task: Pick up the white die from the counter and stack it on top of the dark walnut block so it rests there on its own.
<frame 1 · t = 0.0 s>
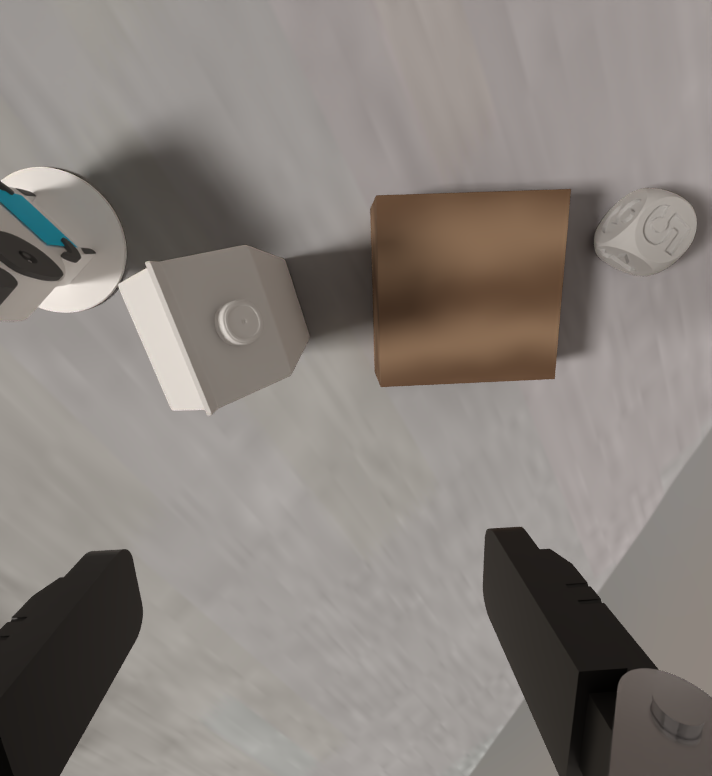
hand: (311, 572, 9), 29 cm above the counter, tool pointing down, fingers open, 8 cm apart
milk carton: (260, 310, 37), on the counter
die: (620, 237, 36), on the counter
walnut block: (450, 290, 37), on the counter
white device on stand: (61, 246, 35), on the counter
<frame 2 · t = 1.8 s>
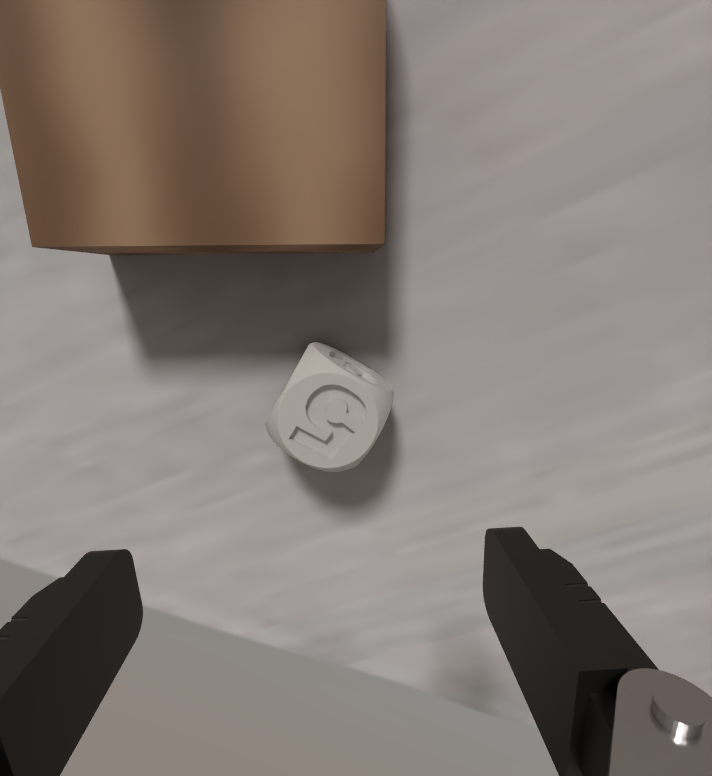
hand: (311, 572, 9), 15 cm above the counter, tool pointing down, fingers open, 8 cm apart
die: (330, 392, 25), on the counter
walnut block: (232, 106, 21), on the counter
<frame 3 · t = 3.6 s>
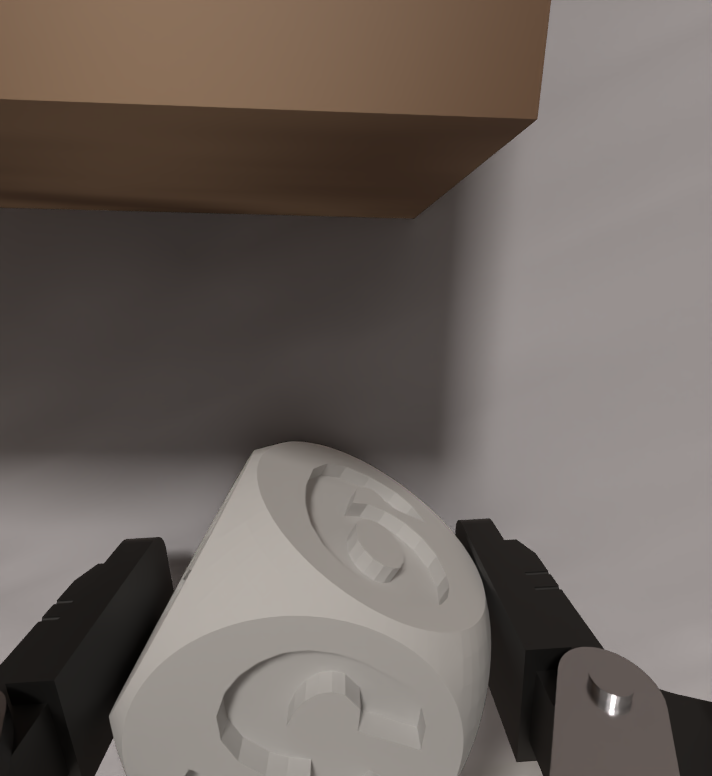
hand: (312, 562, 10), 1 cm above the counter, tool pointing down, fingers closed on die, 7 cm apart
die: (316, 534, 11), on the counter, touching gripper
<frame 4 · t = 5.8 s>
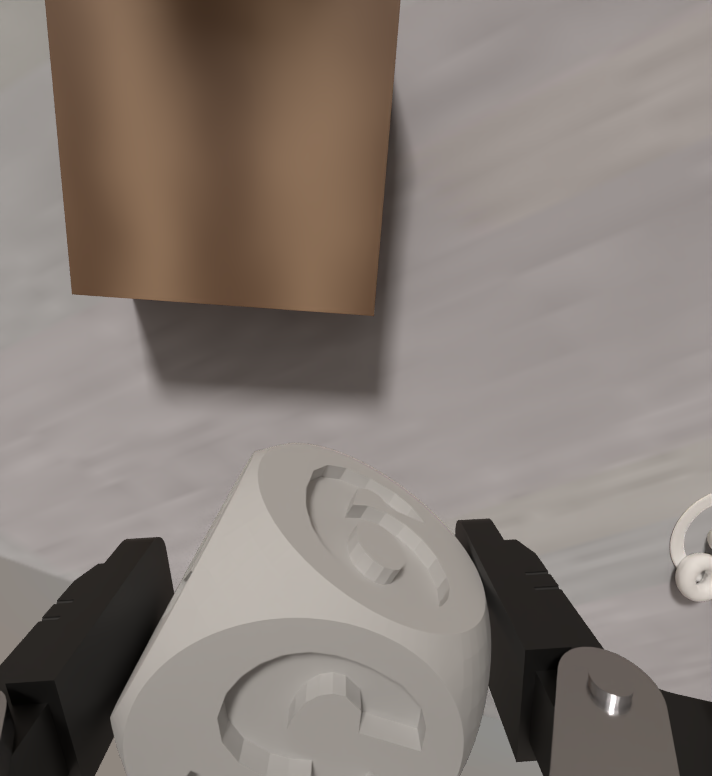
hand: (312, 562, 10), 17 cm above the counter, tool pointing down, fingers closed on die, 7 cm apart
teacup and saucer: (675, 530, 31), on the counter
die: (316, 535, 11), point 16 cm above the counter, touching gripper
walnut block: (252, 174, 24), on the counter
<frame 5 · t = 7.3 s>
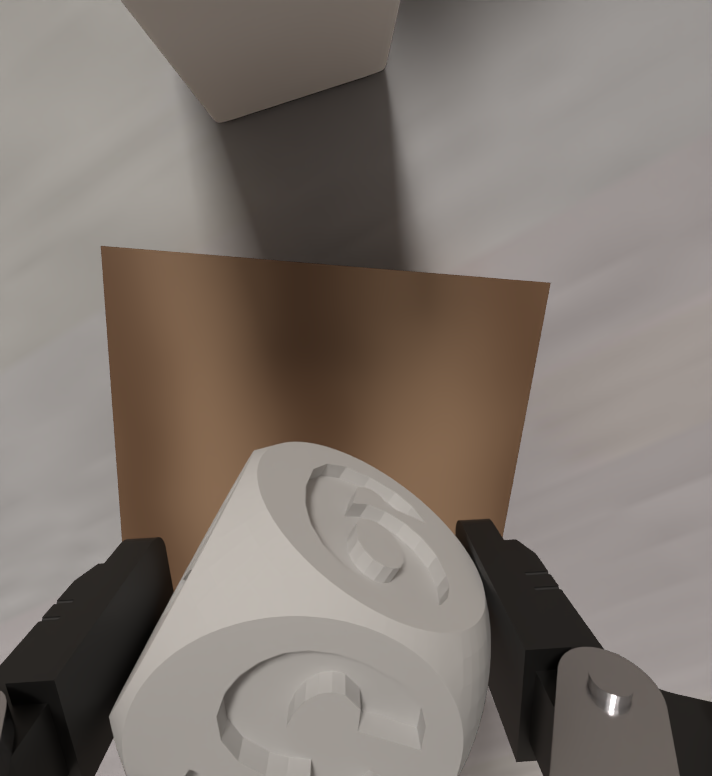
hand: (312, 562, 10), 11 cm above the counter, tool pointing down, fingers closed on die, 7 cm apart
milk carton: (272, 0, 16), on the counter
die: (316, 534, 11), point 10 cm above the counter, touching gripper
walnut block: (325, 416, 20), on the counter
when the fingers open (8 cm above the counter, at t = 8.4 s): die drops 2 cm, point 5 cm above the counter.
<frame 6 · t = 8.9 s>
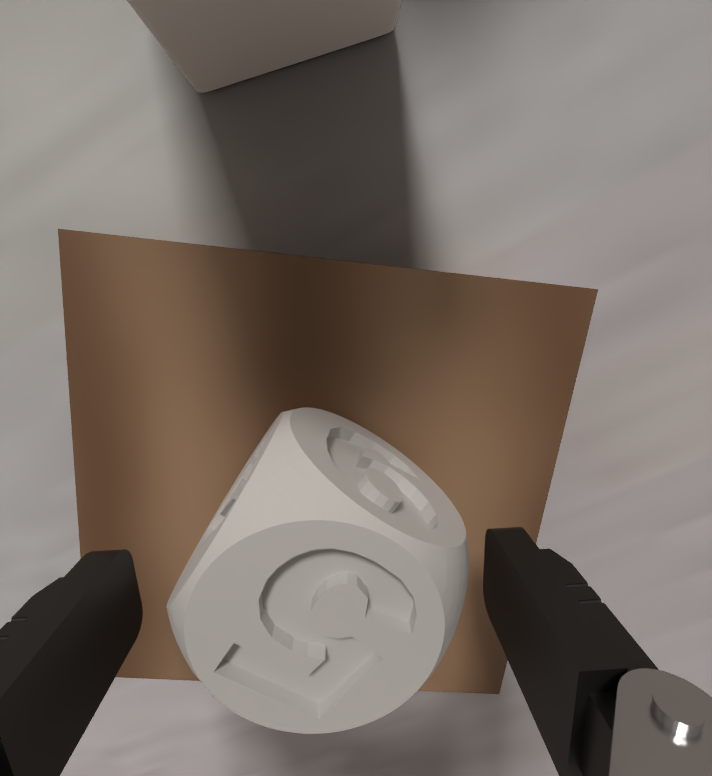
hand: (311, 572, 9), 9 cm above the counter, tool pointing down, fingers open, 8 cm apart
die: (324, 493, 13), point 5 cm above the counter
walnut block: (324, 431, 18), on the counter
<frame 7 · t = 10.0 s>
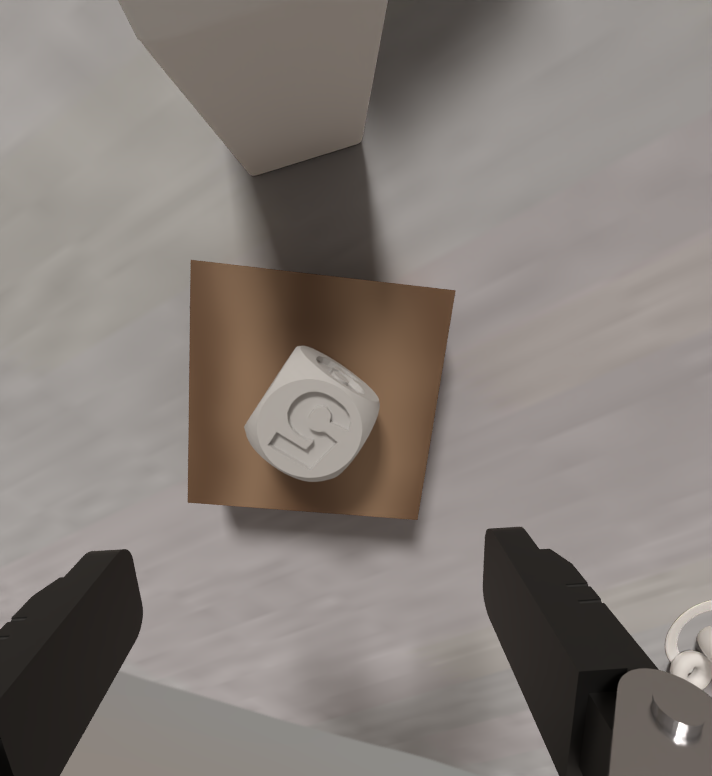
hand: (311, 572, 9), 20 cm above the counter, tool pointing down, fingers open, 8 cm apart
teacup and saucer: (669, 630, 37), on the counter
milk carton: (288, 98, 25), on the counter
die: (315, 398, 24), point 5 cm above the counter
walnut block: (319, 377, 29), on the counter
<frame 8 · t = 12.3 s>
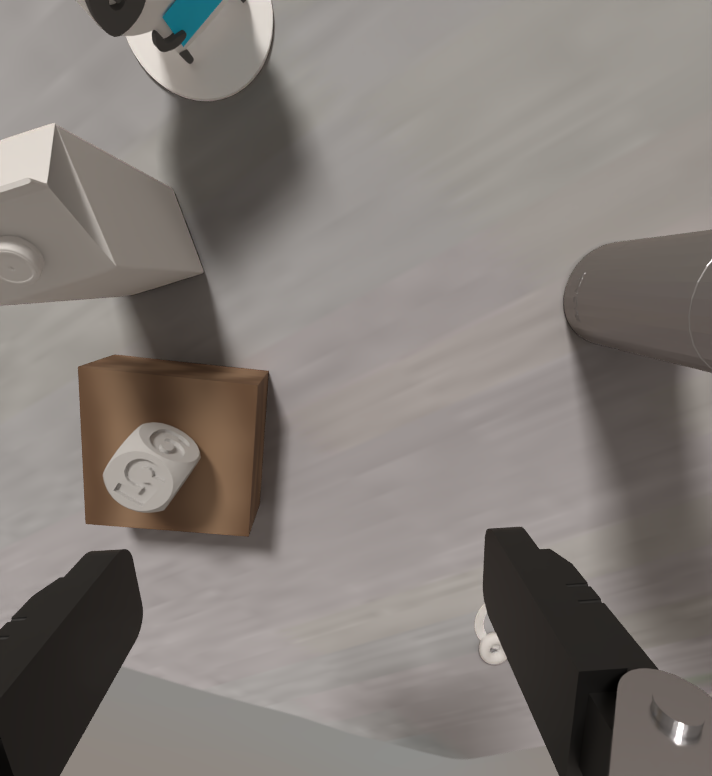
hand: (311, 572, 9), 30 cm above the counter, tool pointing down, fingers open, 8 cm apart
teacup and saucer: (480, 617, 48), on the counter
milk carton: (151, 243, 36), on the counter
die: (168, 452, 35), point 5 cm above the counter, touching walnut block
walnut block: (192, 431, 41), on the counter, touching die
white device on stand: (196, 21, 32), on the counter
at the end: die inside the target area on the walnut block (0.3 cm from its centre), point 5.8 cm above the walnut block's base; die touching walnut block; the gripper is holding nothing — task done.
